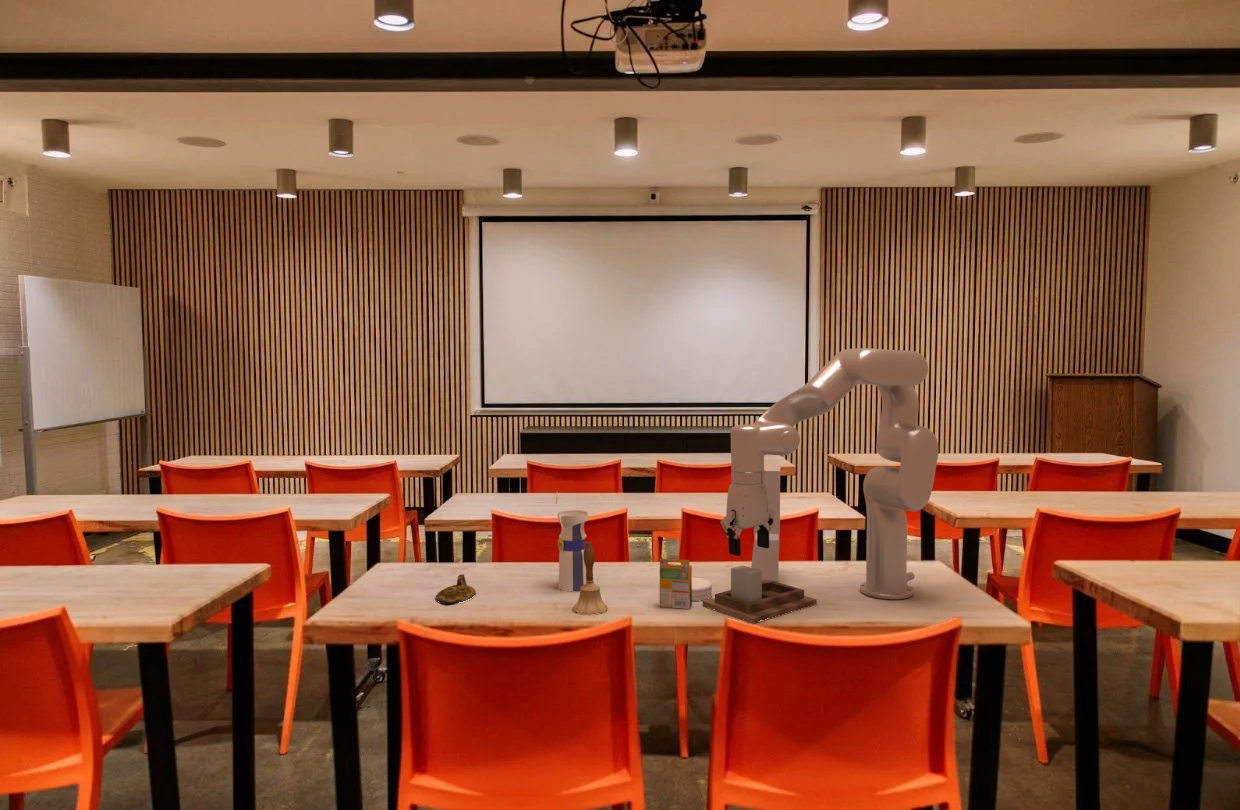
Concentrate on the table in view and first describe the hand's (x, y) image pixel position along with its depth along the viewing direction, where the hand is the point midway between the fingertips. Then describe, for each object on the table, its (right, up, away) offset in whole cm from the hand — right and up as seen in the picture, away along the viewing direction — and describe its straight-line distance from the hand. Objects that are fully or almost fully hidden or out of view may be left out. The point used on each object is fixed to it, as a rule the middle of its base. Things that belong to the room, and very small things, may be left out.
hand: (749, 550), depth 183 cm
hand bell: (-37, -14, +1) cm, 40 cm away
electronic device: (+9, -12, +27) cm, 31 cm away
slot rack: (+3, -14, +3) cm, 14 cm away
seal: (-71, -14, +12) cm, 73 cm away
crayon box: (-17, -14, +3) cm, 22 cm away
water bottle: (-42, -13, +19) cm, 48 cm away
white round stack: (-12, -14, +12) cm, 22 cm away
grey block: (-1, -12, +1) cm, 12 cm away
